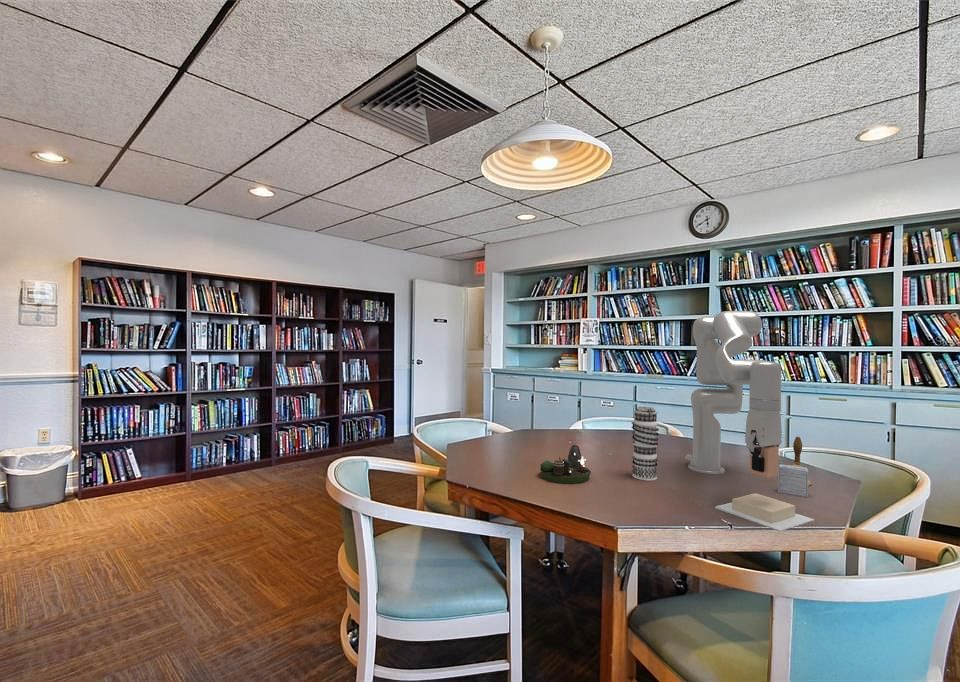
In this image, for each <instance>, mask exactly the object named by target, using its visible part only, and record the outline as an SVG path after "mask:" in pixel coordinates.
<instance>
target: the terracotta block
mask: <svg viewBox="0 0 960 682" xmlns="http://www.w3.org/2000/svg"><path fill="white" fill-rule="evenodd" d="M756 445H759V443H756ZM756 448H757V447H756ZM779 448H780V446H779V447H777V446H768V447H764V453H763V458H764V472H759V471H755V470H752V456H751V452H750V451H749V473H750V474H752V475H756V476H760V477H763V478H773V477H778V475H779V463H780V461H779V460H780V459H779V457H780V456H779V455H780V454H779V453H780V449H779ZM757 449H758V451H759V450H760V448H757Z"/></svg>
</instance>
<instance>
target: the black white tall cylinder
mask: <svg viewBox="0 0 960 682" xmlns="http://www.w3.org/2000/svg"><path fill="white" fill-rule="evenodd" d="M633 412H634V414H633V415H634V417H633V418H634V419H633V421H632V422H631V424H632V426H631V429H632V430H633V431H632V432H631V434H632V435H631V438H632V439H633V440H632V445H633V452H632V455H633V456H632V459H633V460H632V461H631V462H632V464H633V465H631V468H632V470H631V472H632V474H631V475H632V477H633V478H634V479H638V480H640V481H656V480H657V479H658V474H659V473H658V472H657V471H658V470H659V469H658V467H657V466H658V465H659V464H658V463H657V462H658V458H657V457H658V456H657V447H658V445H659V443H658V441H659V438H658V436H659V435H660V433H659V431H660V429H659V428H658V427H657V425H658V420H657V414H658V412H657V411H656V409H655V408H654V407H651V406H638V407H637V408H636V409H635V410H634V411H633Z"/></svg>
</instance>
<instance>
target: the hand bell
mask: <svg viewBox="0 0 960 682" xmlns="http://www.w3.org/2000/svg"><path fill="white" fill-rule="evenodd" d="M792 448H793V452H794V461H793V464H791V465H790V466H797V467H803V466H802V465H801V453H802V451H803V442H802V440H801V437H800V436H795V439H794V440H793V445H792ZM811 485H812V482H811V481H810V480H809V479H808V487H809V486H811Z"/></svg>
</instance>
